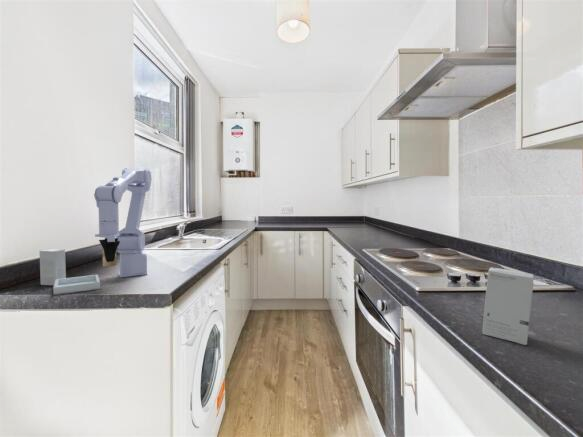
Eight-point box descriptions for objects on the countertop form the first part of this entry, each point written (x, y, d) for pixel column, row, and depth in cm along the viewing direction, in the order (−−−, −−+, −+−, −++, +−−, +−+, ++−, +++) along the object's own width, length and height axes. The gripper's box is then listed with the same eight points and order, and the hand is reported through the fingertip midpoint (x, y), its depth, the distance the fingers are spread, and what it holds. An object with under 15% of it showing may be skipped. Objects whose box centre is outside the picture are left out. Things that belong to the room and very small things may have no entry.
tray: (98, 280, 106) (97, 274, 106) (100, 288, 96) (99, 282, 96) (55, 285, 98) (55, 279, 98) (53, 295, 89) (53, 287, 89)
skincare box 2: (482, 334, 66) (485, 270, 65) (485, 326, 70) (488, 266, 69) (529, 346, 60) (533, 276, 59) (530, 336, 65) (533, 271, 64)
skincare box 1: (66, 282, 103) (65, 249, 102) (55, 285, 99) (54, 251, 98) (51, 281, 104) (50, 248, 103) (39, 285, 99) (38, 250, 99)
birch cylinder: (115, 263, 102) (115, 243, 101) (117, 265, 99) (116, 245, 98) (102, 264, 99) (101, 244, 99) (103, 267, 96) (102, 246, 96)
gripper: (93, 220, 102) (94, 258, 102) (95, 222, 90) (96, 265, 91) (116, 219, 106) (117, 256, 107) (121, 222, 94) (122, 263, 95)
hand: (109, 260), depth 99 cm, fingers closed on birch cylinder, 4 cm apart
